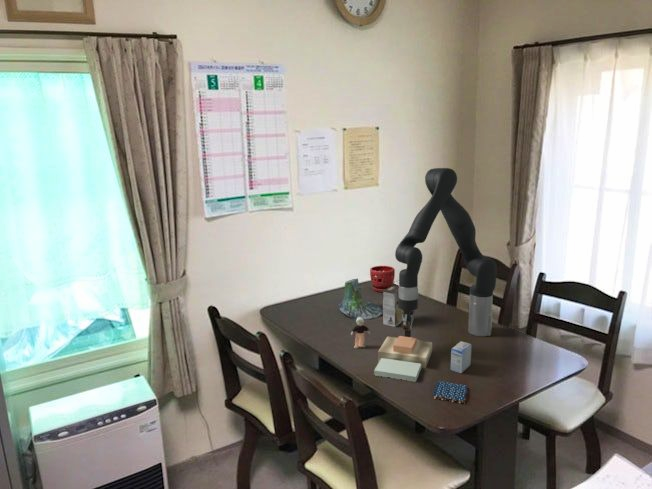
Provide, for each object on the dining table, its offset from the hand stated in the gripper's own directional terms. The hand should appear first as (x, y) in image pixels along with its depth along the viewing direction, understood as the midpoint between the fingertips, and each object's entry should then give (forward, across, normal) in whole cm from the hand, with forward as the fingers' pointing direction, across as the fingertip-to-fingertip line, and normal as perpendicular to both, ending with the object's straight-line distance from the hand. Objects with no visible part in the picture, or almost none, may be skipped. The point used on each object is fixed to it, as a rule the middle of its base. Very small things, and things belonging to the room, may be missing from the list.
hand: (407, 337), depth 194 cm
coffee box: (+6, +26, +12) cm, 29 cm away
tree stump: (+6, +33, +30) cm, 45 cm away
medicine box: (+6, -8, -21) cm, 23 cm away
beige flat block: (+5, -5, 0) cm, 7 cm away
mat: (+5, -18, 0) cm, 19 cm away
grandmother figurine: (+6, -2, +19) cm, 20 cm away
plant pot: (+6, +68, +29) cm, 74 cm away
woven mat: (+6, -27, -20) cm, 34 cm away
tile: (+1, -6, 0) cm, 6 cm away
